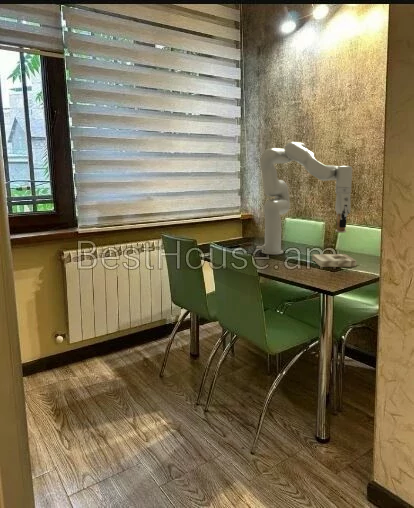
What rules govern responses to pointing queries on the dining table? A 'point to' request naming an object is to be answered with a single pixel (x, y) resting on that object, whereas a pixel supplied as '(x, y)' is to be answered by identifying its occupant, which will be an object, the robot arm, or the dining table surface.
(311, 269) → the dining table surface
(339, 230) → the bobbin
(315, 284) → the dining table surface
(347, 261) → the socket board
